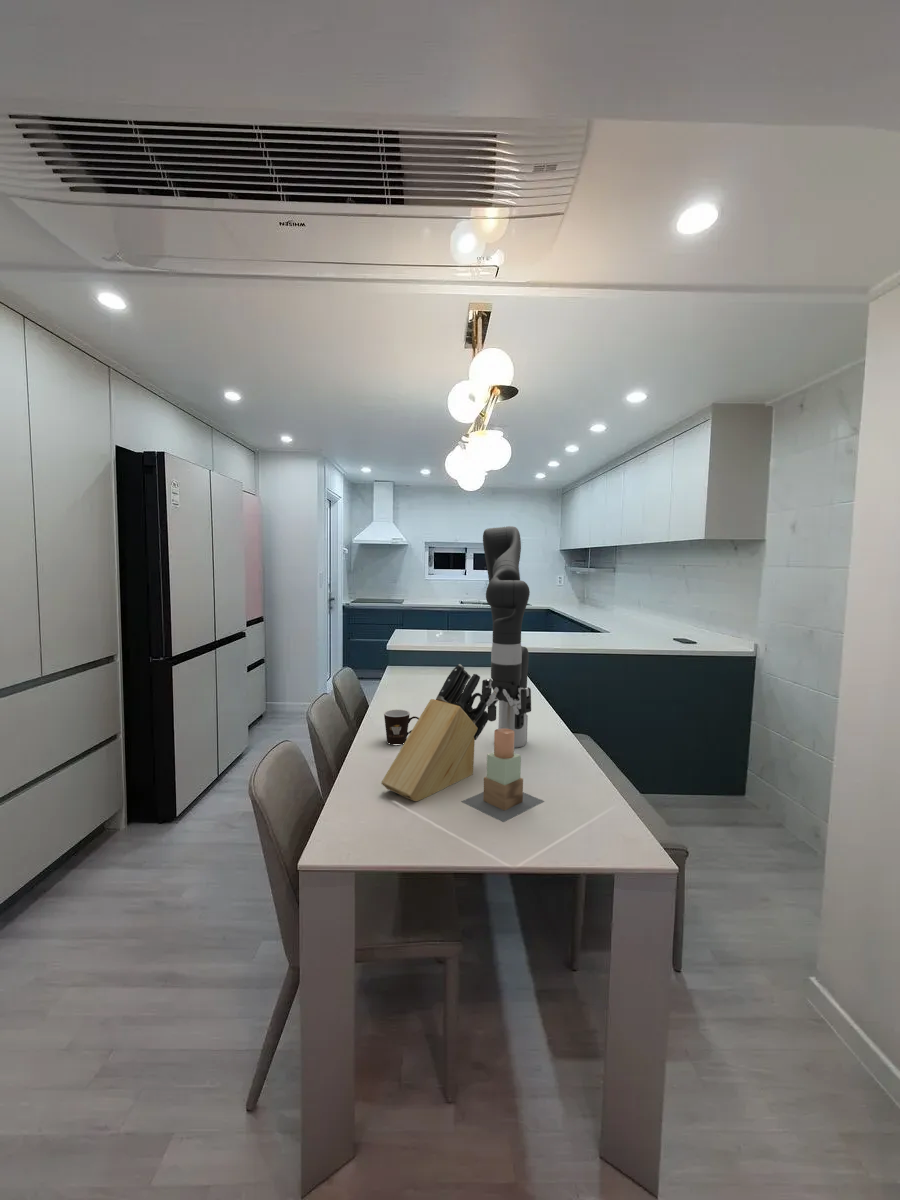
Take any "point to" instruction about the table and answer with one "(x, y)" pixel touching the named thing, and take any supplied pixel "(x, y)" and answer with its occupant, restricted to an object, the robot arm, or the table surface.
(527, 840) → the table surface
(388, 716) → the coffee mug
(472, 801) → the mat
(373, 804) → the table surface
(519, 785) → the bottom block
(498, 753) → the tan rounded cylinder
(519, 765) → the top block
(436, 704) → the knife block
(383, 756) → the table surface
